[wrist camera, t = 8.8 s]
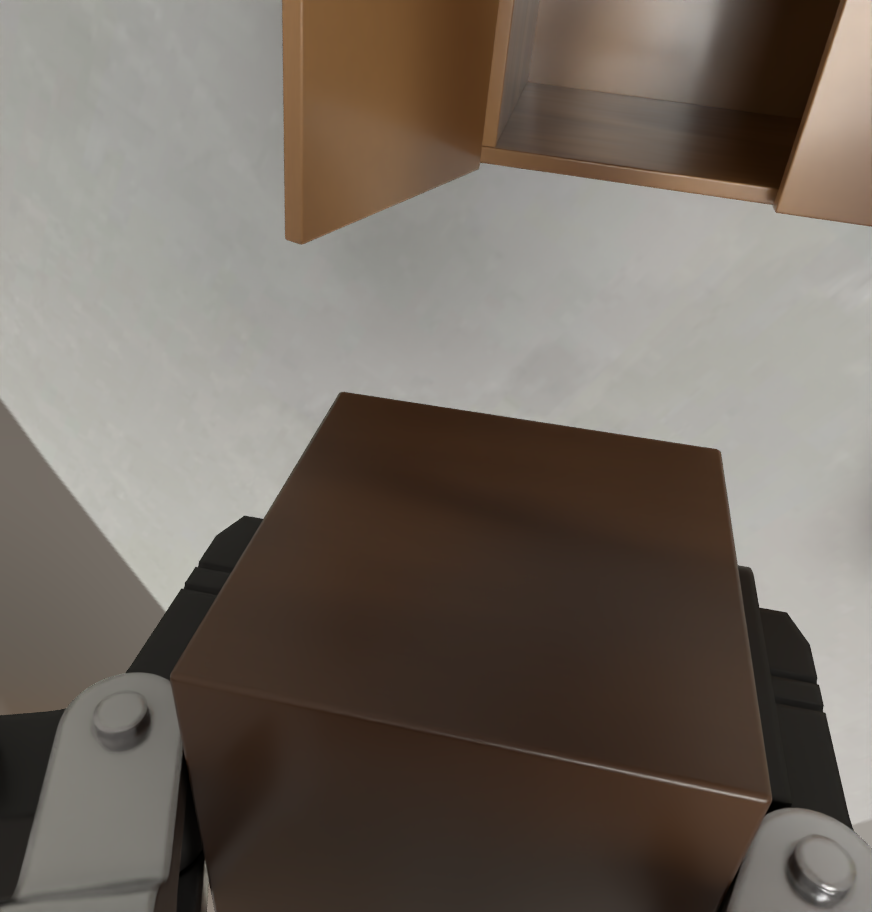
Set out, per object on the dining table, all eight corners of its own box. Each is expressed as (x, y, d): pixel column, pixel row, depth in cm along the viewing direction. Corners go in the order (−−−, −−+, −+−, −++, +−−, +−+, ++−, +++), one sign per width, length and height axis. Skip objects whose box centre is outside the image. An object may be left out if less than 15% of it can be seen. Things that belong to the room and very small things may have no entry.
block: (343, 645, 14) (221, 955, 10) (339, 389, 11) (165, 675, 7) (643, 704, 13) (645, 1063, 9) (721, 448, 10) (776, 801, 6)
